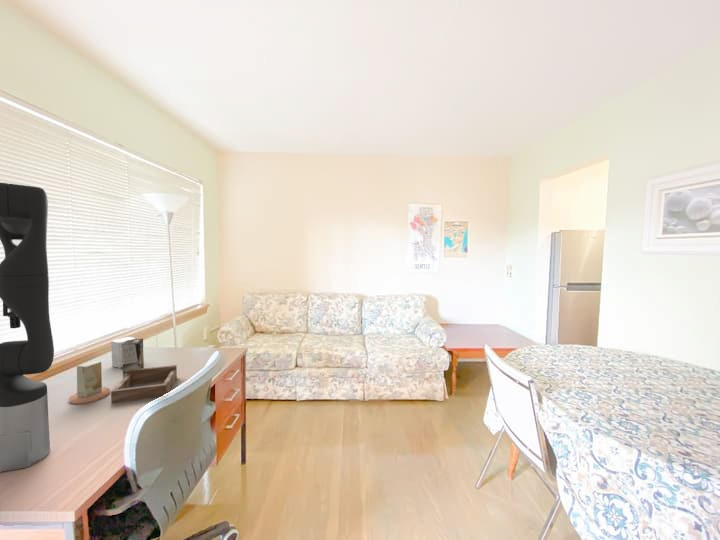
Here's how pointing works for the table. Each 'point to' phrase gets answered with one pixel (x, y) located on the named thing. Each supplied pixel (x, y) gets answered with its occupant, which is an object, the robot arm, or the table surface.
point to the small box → (118, 351)
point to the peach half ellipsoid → (89, 397)
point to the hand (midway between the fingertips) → (24, 324)
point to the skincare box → (89, 379)
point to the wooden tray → (144, 376)
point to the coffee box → (132, 355)
